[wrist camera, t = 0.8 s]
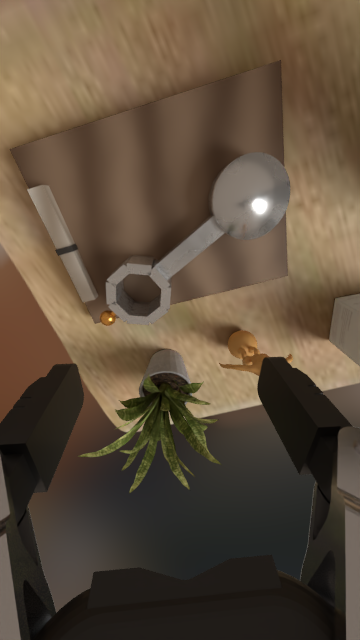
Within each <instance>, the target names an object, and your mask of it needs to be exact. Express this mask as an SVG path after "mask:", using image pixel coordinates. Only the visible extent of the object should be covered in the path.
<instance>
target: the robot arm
mask: <svg viewBox="0 0 360 640" xmlns="http://www.w3.org/2000/svg"><path fill="white" fill-rule="evenodd" d="M258 395H259V398H260V400H261V402H262V404H263V406H264V408H265V410H266V412H267V414H268V415H269V417H270V419H271V421H272V423H273V425H274V427H275V429H276V431H277V433H278V435H279V437H280V439H281V440H282V442H283V444H284V446H285V448H286V450H287V452H288V454H289V456H290V458H291V460H292V462H293V463H294V465H295V467H296V469H297V471H298V473H299V475H303V474H312V475H313V477H314V478H315V480H316V483H315V485H314V492H313V501H312V511H311V522H310V530H309V540H308V547H307V552H306V555H305V558H304V562H303V567H302V571H301V578H300V581H299V580H298V579H296V578H294V577H292V576H290V575H288V574H286V573H283V572H281V571H278V570H276V567H275V563H274V560H273V557H272V555H265V556H254V557H244V558H235V559H229V560H227V561H225V562H223V563H221V564H219V565H217V566H215V567H213V568H211V569H209V570H207V571H205V572H203V573H201V574H200V575H197V576H196V577H194V578H192V579H189V580H180V579H177V578H174V577H170V576H166V575H163V574H159V573H156V572H153V571H149V570H146V569H142V568H130V569H120V570H109V571H99V572H94V573H93V579H92V584H91V588H90V589H88V590H86V591H84V592H82V593H81V594H79V595H78V596H76V597H75V598H73V599H72V600H71V601H69V602H68V603H67V604H66V605H65V606H64V607H62V608H61V609H60V610H59V611H58V612H57V613H56V609H55V606H54V602H53V598H52V595H51V591H50V588H49V586H48V583H47V580H46V578H45V575H44V571H43V568H42V564H41V559H40V555H39V551H38V547H37V542H36V538H35V533H34V529H33V524H32V520H31V515H30V511H29V508H28V503H29V501H30V499H31V497H32V495H33V493H37V492H47V490H48V488H49V485H50V483H51V480H52V478H53V476H54V474H55V471H56V469H57V466H58V464H59V461H60V459H61V457H62V454H63V452H64V449H65V447H66V444H67V442H68V440H69V437H70V435H71V432H72V430H73V427H74V425H75V423H76V420H77V418H78V415H79V413H80V410H81V408H82V405H83V400H84V393H83V388H82V384H81V379H80V375H79V371H78V367H77V365H76V364H56V365H54V366H53V367H52V369H51V370H50V372H49V373H48V374H47V376H46V377H41V378H39V379H38V380H37V381H35V382H34V383H33V384H31V385H30V386H29V387H28V388H27V389H26V390H25V392H24V393H23V394H22V396H21V397H20V400H18V401H17V402H16V404H15V405H14V406H13V409H11V410H10V411H9V413H8V414H7V415H6V417H5V418H4V419H3V421H2V422H1V423H0V640H360V428H358V427H353V426H352V425H351V424H350V423H349V422H348V420H347V419H346V418H345V417H344V416H343V415H342V414H341V413H340V412H339V410H338V409H337V408H336V407H335V406H334V405H333V404H332V403H331V401H330V400H329V399H328V398H327V397H326V396H325V395H323V392H322V391H321V390H320V389H319V388H318V387H316V384H315V383H314V382H313V381H312V380H311V379H310V378H309V377H308V376H307V375H306V374H304V373H303V372H301V371H300V370H298V369H297V368H292V366H291V365H290V364H289V363H288V362H287V360H286V359H285V358H284V357H265V358H264V359H263V361H262V366H261V371H260V376H259V381H258Z"/></svg>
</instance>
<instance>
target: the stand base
mask: <svg viewBox="0 0 360 640" xmlns="http://www.w3.org/2000/svg"><path fill="white" fill-rule="evenodd" d="M10 151H11V153H12V155H13V157H14V159H15V161H16V163H17V165H18V167H19V169H20V171H21V173H22V175H23V177H24V180H25V182H26V184H27V186H28V188H29V189H27V190H28V192H29V194H30V196H31V199H32V201H33V203H34V205H35V207H36V209H37V211H38V213H39V215H40V217H41V219H42V221H43V223H44V225H45V227H46V229H47V231H48V233H49V235H50V237H51V239H52V241H53V243H54V245H55V247H56V249H57V250H56V252H57V254H58V256H59V255H60V257H61V259H62V261H63V263H64V265H65V267H66V269H67V271H68V274H69V276H70V278H71V280H72V282H73V284H74V286H75V288H76V290H77V292H78V294H79V296H80V298H81V300H82V302H85V304H86V306H87V308H88V310H89V312H90V314H91V316H92V319H93V321H94V323H95V324H96V323H100V322H101V321H100V315H101V313H102V312H103V311H106V310H110V311H112V310H111V309H110V308H109V307H108V306H109V304H107V300H106V281H107V279H108V278H109V276H110V275H111V274H112V273H113V272H114V271H115V269H117V268H118V267H119V266H120V265H121V264H122V263H123V262H124V261H125V260H126V259H128V258H129V257H130V256H131V257H132V256H133V255H137V256H148V257H154V260H156V259H158V260H160V259H161V258H162V257H163V256H164V255H165V254H167V253H168V252H169V251H170V250H171V249H172V248H174V247H175V246H176V245H177V244H178V243H179V242H181V241H182V240H183V239H184V238H185V237H186V236H187V235H189V234H190V233H191V232H192V231H193V230H194V229H196V228H197V227H198V226H199V225H200V224H201V223H203V222H204V221H205V220H206V219H207V218H208V217H209V216H210V212H209V206H208V199H209V192H210V189H211V186H212V183H213V181H214V180H215V178H216V176H217V175H218V174H219V172H220V171H221V170H222V169H223V168H224V167H226V166H227V165H228V164H230V163H231V162H232V161H234V160H235V159H237V158H239V157H240V156H243V155H245V154H248V153H254V152H262V153H266V154H269V155H271V156H273V157H275V158H276V159H277V160H278V161H280V163H281V164H282V165H283V166H284V144H283V113H282V81H281V60H280V61H277V62H274V63H271V64H268V65H265V66H261V67H258V68H255V69H252V70H249V71H246V72H243V73H240V74H237V75H234V76H231V77H228V78H225V79H222V80H219V81H216V82H213V83H210V84H207V85H204V86H201V87H198V88H195V89H192V90H188V91H185V92H182V93H179V94H176V95H173V96H170V97H167V98H164V99H161V100H158V101H155V102H152V103H149V104H146V105H143V106H140V107H137V108H134V109H131V110H128V111H125V112H122V113H119V114H115V115H112V116H109V117H106V118H103V119H100V120H97V121H94V122H91V123H88V124H85V125H82V126H79V127H76V128H73V129H70V130H67V131H64V132H61V133H58V134H55V135H52V136H49V137H46V138H42V139H39V140H36V141H33V142H30V143H27V144H24V145H21V146H18V147H15V148H12V149H10ZM285 276H288V268H287V237H286V211H285V213H284V215H283V217H282V219H281V220H280V221H279V223H278V224H277V225H276V226H275V227H274V228H273V229H272V230H271V231H270V232H268V233H267V234H265V235H263V236H261V237H259V238H256V239H252V240H241V239H237V238H234V237H232V236H230V235H228V234H226V233H224V234H223V235H222V236H221V237H219V238H218V239H217V240H216V241H215V242H213V243H212V244H211V245H210V246H208V247H207V248H206V249H205V250H204V251H202V252H201V253H200V254H199V255H197V256H196V257H195V258H194V259H193V260H191V261H190V262H189V263H188V264H186V265H185V266H184V267H183V268H182V269H180V270H179V271H178V272H177V273H176V274H174V275H173V276H172V277H171V297H170V305H172V304H176V303H180V302H184V301H188V300H192V299H196V298H200V297H204V296H208V295H212V294H216V293H220V292H225V291H229V290H233V289H237V288H241V287H245V286H249V285H253V284H257V283H261V282H265V281H269V280H273V279H277V278H281V277H285ZM123 284H124V291H125V292H126V293H127V294H128V295H129V296H130V297H131V298H132V299H133V300H134V301H138V302H151V301H153V300H154V299H155V298H156V297H158V296H159V295H160V294H161V288H160V287H159V286H158V285H157V284H156V283H155V282H154V281H153V280H152V278H151V277H150V276H149V275H139V274H128V275H127V276H126V277H125V278H124V279H123ZM115 316H116V318H119V317H118V316H117V315H115Z"/></svg>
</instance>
